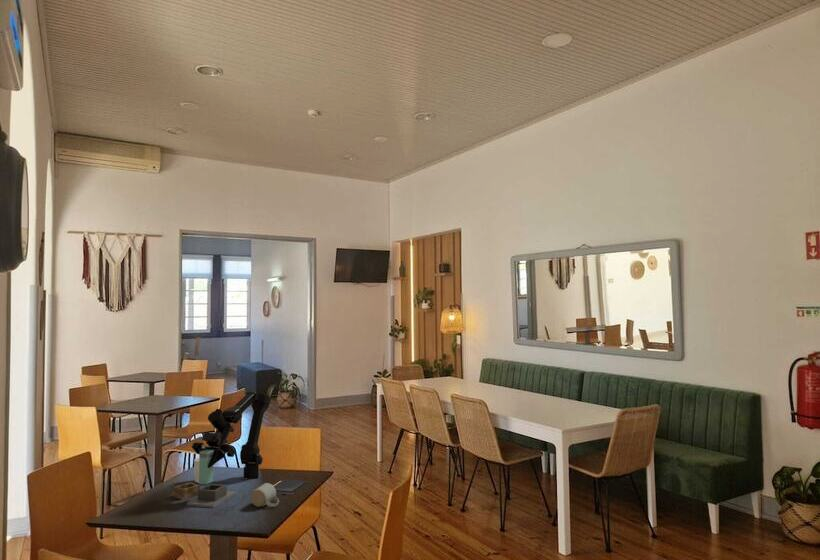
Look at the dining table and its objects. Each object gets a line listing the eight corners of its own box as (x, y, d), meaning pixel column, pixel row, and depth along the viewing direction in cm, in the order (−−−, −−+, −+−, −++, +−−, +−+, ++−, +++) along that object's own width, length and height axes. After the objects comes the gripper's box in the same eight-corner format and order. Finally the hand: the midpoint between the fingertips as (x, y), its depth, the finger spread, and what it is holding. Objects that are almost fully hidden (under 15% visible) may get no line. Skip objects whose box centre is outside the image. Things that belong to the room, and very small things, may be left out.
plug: (205, 480, 234) (206, 449, 235) (213, 481, 233) (213, 449, 234) (198, 483, 230) (199, 451, 231) (206, 484, 229) (206, 452, 229)
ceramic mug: (249, 507, 221) (249, 487, 221) (260, 500, 229) (260, 481, 229) (272, 510, 218) (272, 490, 218) (282, 503, 225) (283, 484, 226)
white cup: (194, 479, 260) (194, 457, 260) (212, 477, 262) (212, 456, 263) (193, 484, 252) (193, 461, 253) (211, 482, 254) (211, 460, 255)
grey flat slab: (291, 492, 235) (260, 489, 239) (291, 497, 235) (260, 494, 239) (312, 479, 254) (282, 477, 258) (312, 483, 254) (282, 481, 258)
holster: (190, 491, 241) (190, 482, 241) (199, 494, 237) (199, 485, 237) (172, 496, 234) (173, 486, 235) (182, 499, 230) (182, 489, 230)
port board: (211, 492, 240) (211, 480, 240) (236, 493, 238) (236, 482, 238) (186, 505, 222) (186, 493, 223) (213, 507, 220) (213, 495, 220)
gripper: (194, 423, 239) (176, 455, 228) (231, 425, 234) (215, 458, 223) (206, 437, 246) (189, 469, 235) (242, 440, 241) (226, 472, 230)
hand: (204, 467), depth 230 cm, fingers closed on plug, 4 cm apart
